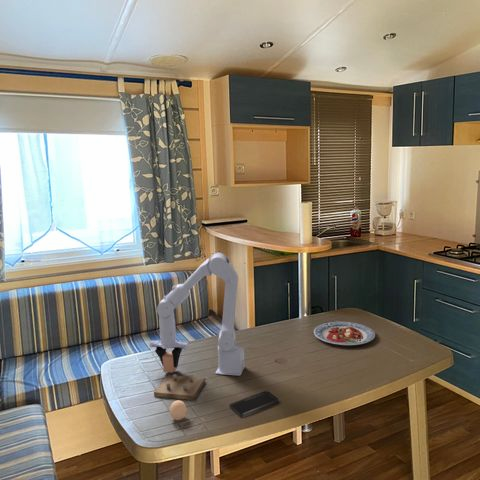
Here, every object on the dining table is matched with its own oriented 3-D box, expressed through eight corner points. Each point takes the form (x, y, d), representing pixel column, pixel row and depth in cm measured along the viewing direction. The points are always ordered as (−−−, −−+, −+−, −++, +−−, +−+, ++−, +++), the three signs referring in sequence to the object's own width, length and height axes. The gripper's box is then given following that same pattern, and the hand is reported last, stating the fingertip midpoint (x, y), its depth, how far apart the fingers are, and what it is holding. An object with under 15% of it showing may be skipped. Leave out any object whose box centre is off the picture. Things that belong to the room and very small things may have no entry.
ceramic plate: (313, 325, 203) (313, 319, 202) (369, 326, 199) (369, 320, 199) (314, 348, 178) (314, 342, 177) (379, 350, 174) (379, 343, 174)
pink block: (177, 367, 163) (176, 352, 162) (173, 372, 159) (172, 357, 158) (167, 366, 164) (166, 351, 163) (163, 371, 160) (162, 356, 159)
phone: (280, 400, 138) (240, 415, 131) (280, 403, 138) (240, 419, 131) (266, 390, 145) (227, 404, 137) (266, 393, 145) (227, 407, 138)
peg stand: (204, 382, 153) (204, 372, 153) (193, 400, 142) (193, 390, 141) (168, 379, 157) (167, 370, 156) (154, 396, 145) (153, 386, 145)
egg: (189, 421, 130) (187, 403, 129) (172, 425, 128) (170, 407, 127) (185, 412, 135) (183, 395, 134) (168, 416, 133) (167, 398, 132)
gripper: (144, 334, 157) (147, 369, 159) (182, 336, 153) (185, 372, 156) (152, 327, 164) (155, 361, 166) (189, 329, 160) (191, 363, 162)
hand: (170, 365), depth 161 cm, fingers closed on pink block, 4 cm apart
